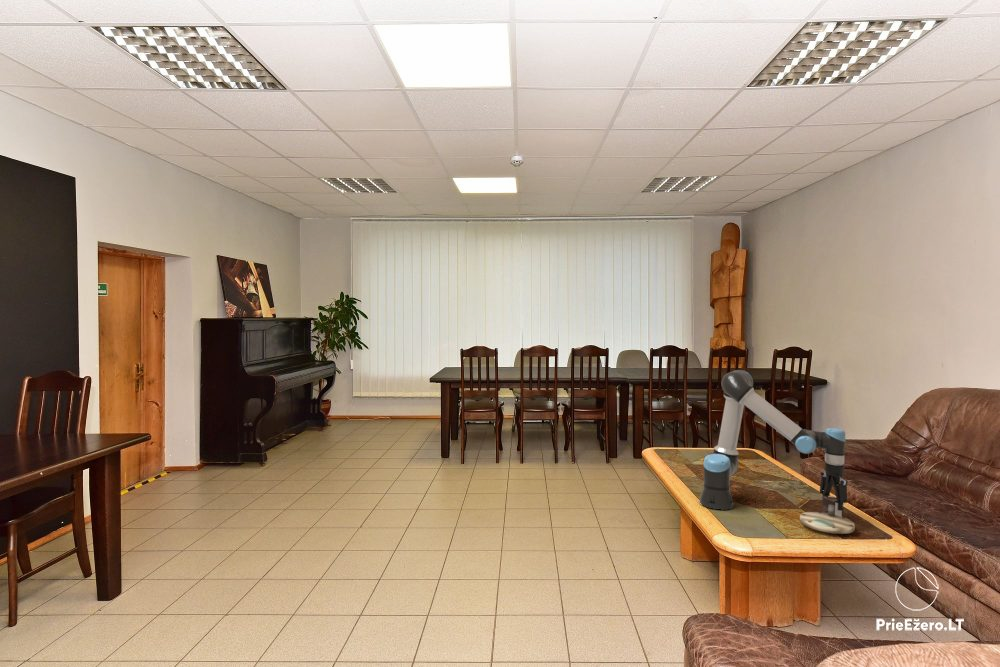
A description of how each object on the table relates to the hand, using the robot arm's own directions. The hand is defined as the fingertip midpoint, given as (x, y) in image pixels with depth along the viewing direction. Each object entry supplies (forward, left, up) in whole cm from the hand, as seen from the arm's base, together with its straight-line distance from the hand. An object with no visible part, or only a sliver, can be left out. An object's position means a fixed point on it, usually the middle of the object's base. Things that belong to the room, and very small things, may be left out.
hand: (832, 513), depth 244 cm
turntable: (-12, -11, 0) cm, 16 cm away
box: (0, 0, -1) cm, 1 cm away
